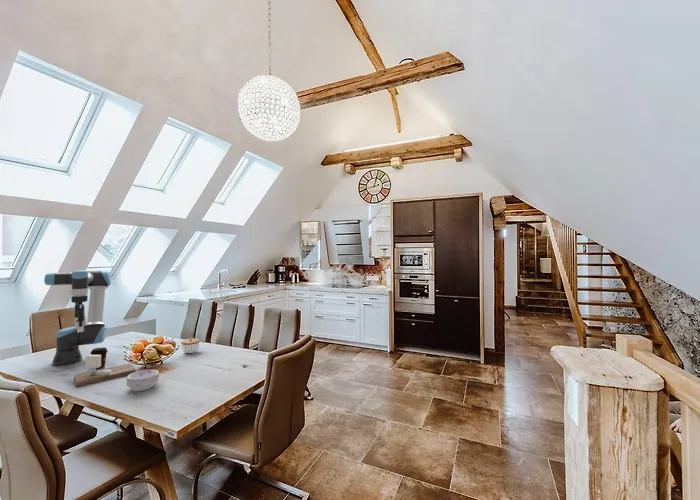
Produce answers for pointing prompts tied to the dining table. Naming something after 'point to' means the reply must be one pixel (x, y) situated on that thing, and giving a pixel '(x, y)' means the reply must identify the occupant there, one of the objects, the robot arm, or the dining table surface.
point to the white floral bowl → (142, 379)
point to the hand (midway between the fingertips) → (78, 330)
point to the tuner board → (103, 375)
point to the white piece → (94, 364)
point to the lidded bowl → (190, 345)
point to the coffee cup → (103, 355)
